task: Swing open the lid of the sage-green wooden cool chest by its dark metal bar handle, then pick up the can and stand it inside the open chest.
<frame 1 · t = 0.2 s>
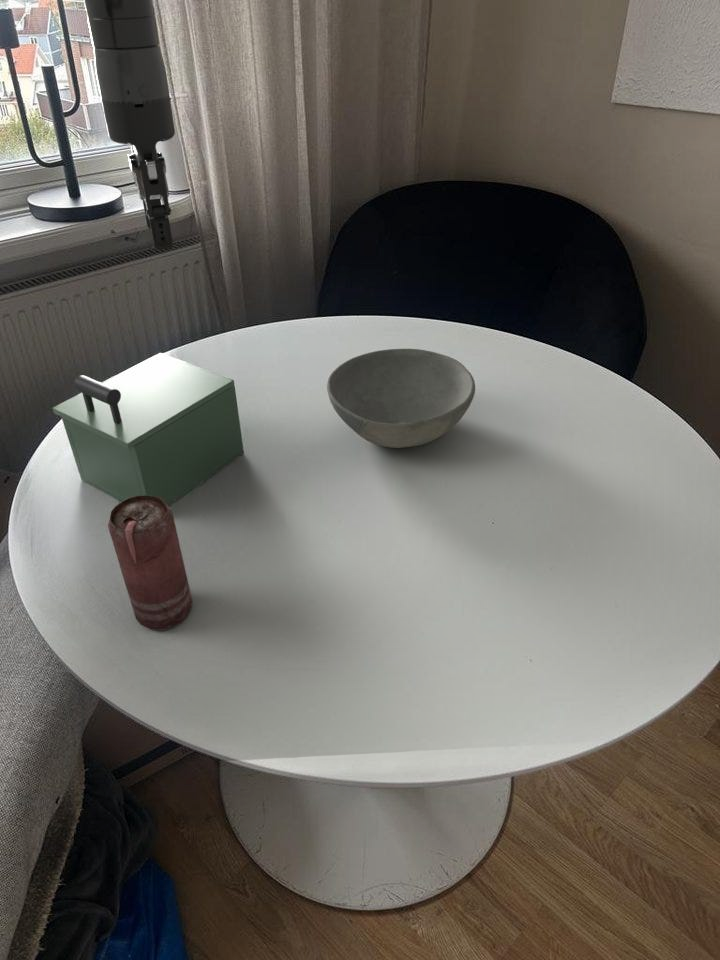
hand: (160, 237, 89), 28 cm above the table, tool pointing down, fingers open, 8 cm apart
can: (164, 613, 76), on the table
chest: (164, 466, 97), on the table
lid: (142, 380, 89), point 14 cm above the table, hinge at 0.0°
bowl: (399, 429, 104), on the table
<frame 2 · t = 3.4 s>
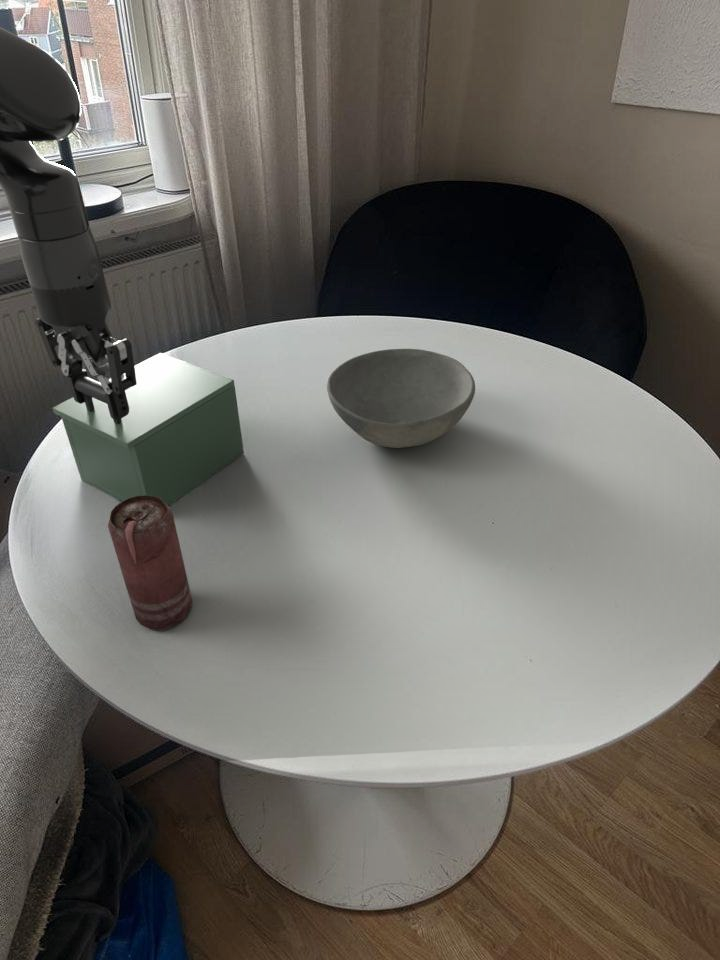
hand: (102, 407, 85), 13 cm above the table, tool pointing down, fingers closed on lid, 6 cm apart
lid: (142, 380, 89), point 14 cm above the table, hinge at 0.0°, touching gripper
everything else where it was.
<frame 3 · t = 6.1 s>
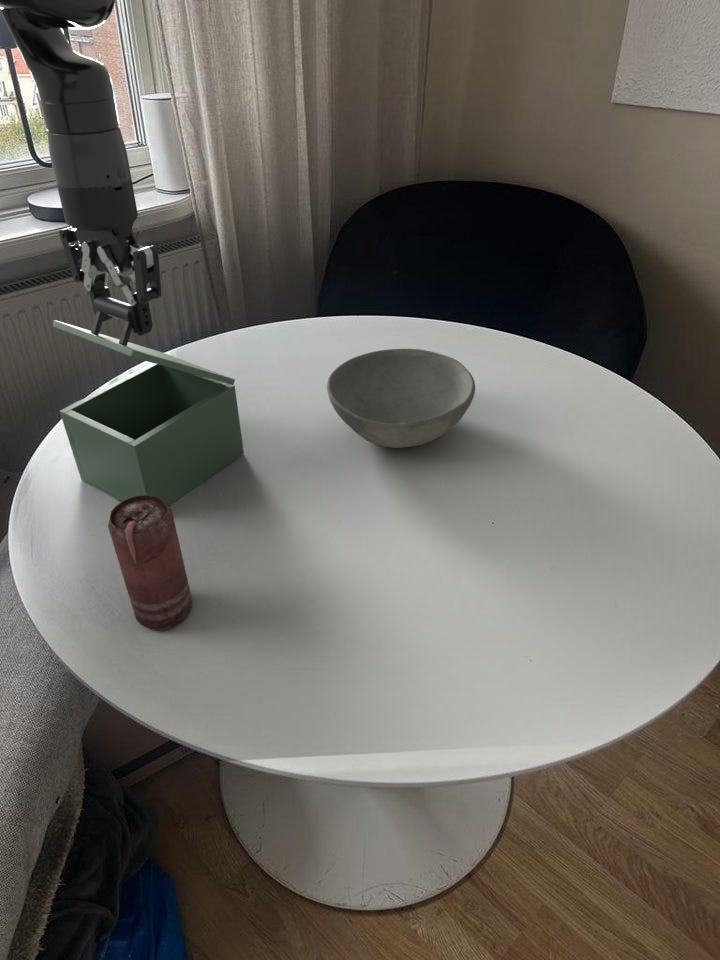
hand: (124, 325, 83), 22 cm above the table, tool pointing down, fingers closed on lid, 6 cm apart
lid: (153, 336, 88), point 19 cm above the table, hinge at 35.8°, touching gripper
everything else where it was.
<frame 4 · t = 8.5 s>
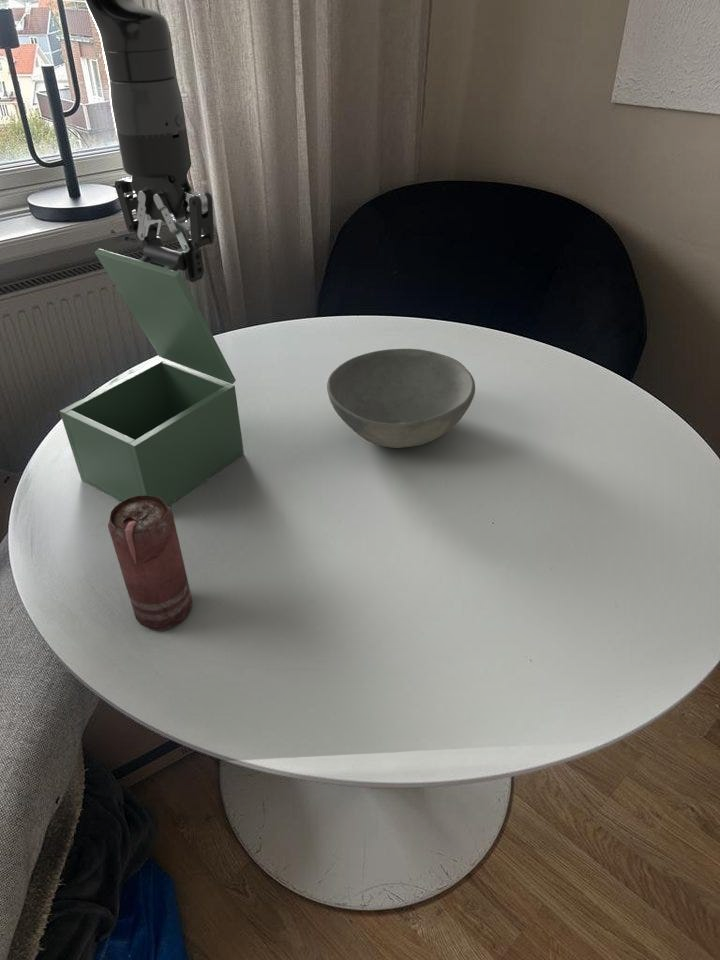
hand: (175, 273, 87), 25 cm above the table, tool pointing down, fingers closed on lid, 6 cm apart
lid: (180, 307, 90), point 21 cm above the table, hinge at 69.4°, touching gripper
everything else where it was.
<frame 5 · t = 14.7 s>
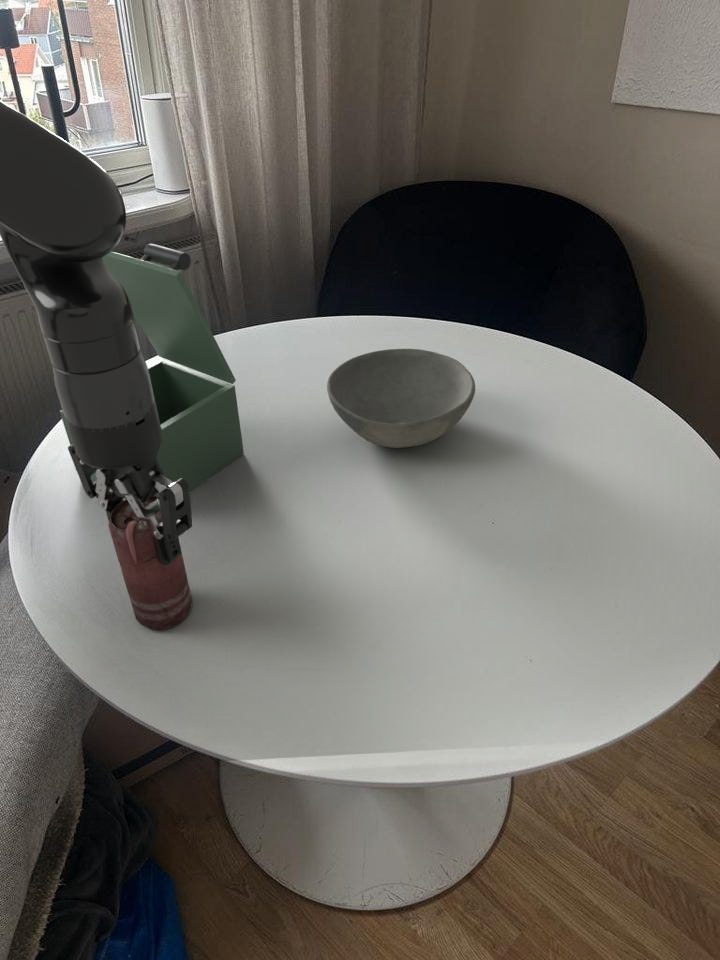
hand: (147, 545, 70), 10 cm above the table, tool pointing down, fingers closed on can, 6 cm apart
can: (164, 612, 76), on the table, touching gripper
lid: (180, 307, 90), point 21 cm above the table, hinge at 69.8°
everything else where it was.
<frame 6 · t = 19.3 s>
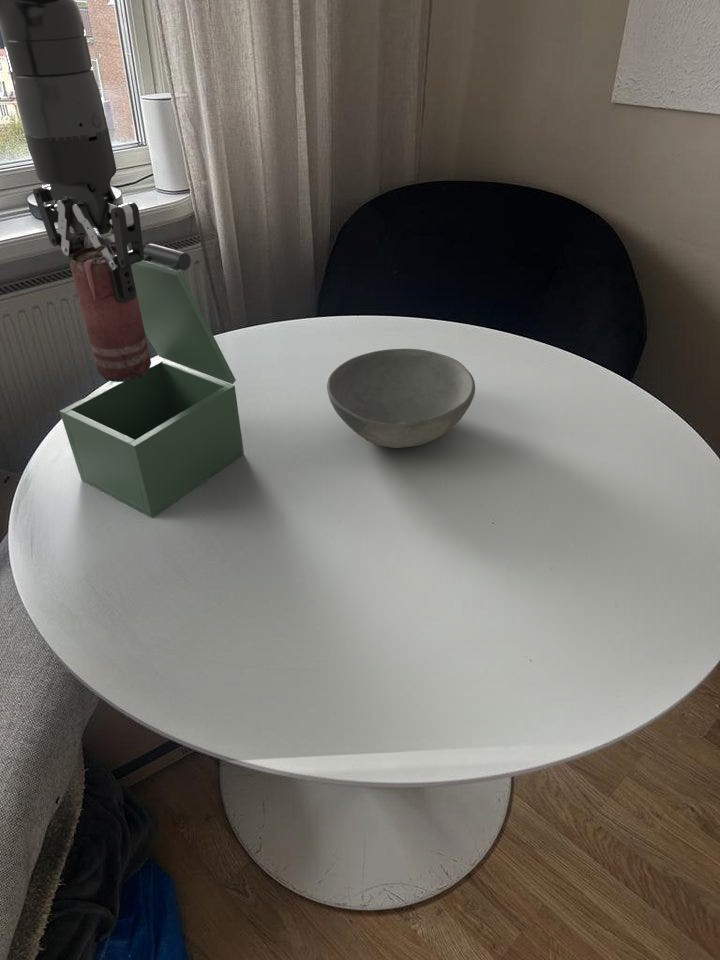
hand: (106, 293, 77), 27 cm above the table, tool pointing down, fingers closed on can, 6 cm apart
can: (125, 372, 83), point 17 cm above the table, touching gripper
everything else where it was.
when the fingers open (11 cm above the table, at t = 24.3 s): can stays where it is, resting on chest.
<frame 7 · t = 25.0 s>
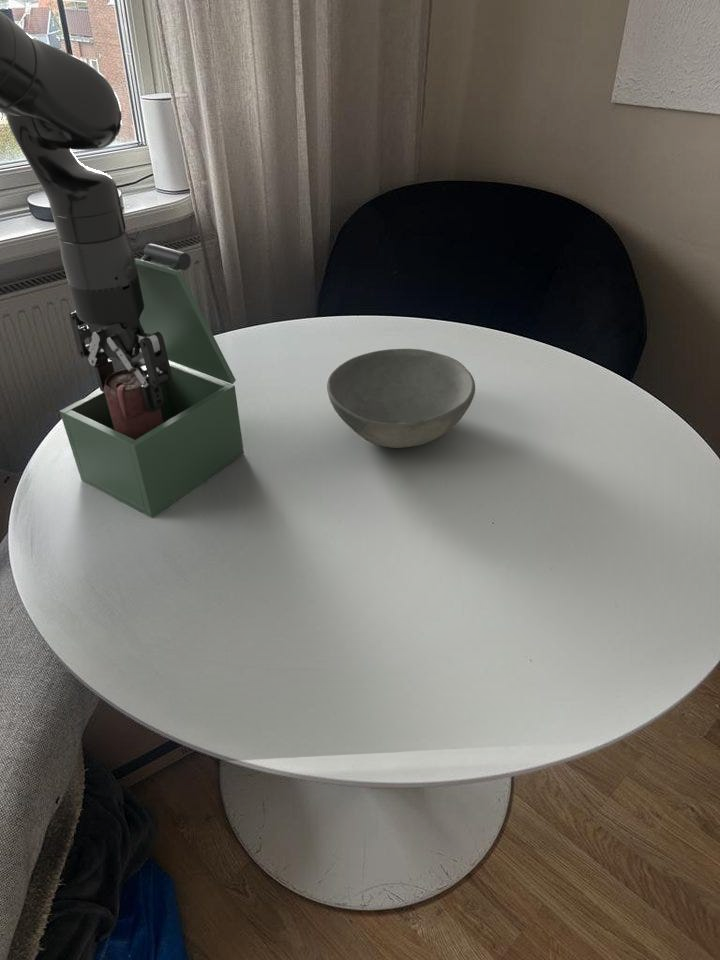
hand: (132, 399, 88), 12 cm above the table, tool pointing down, fingers open, 8 cm apart
can: (149, 471, 95), point 1 cm above the table, touching chest
everything else where it was.
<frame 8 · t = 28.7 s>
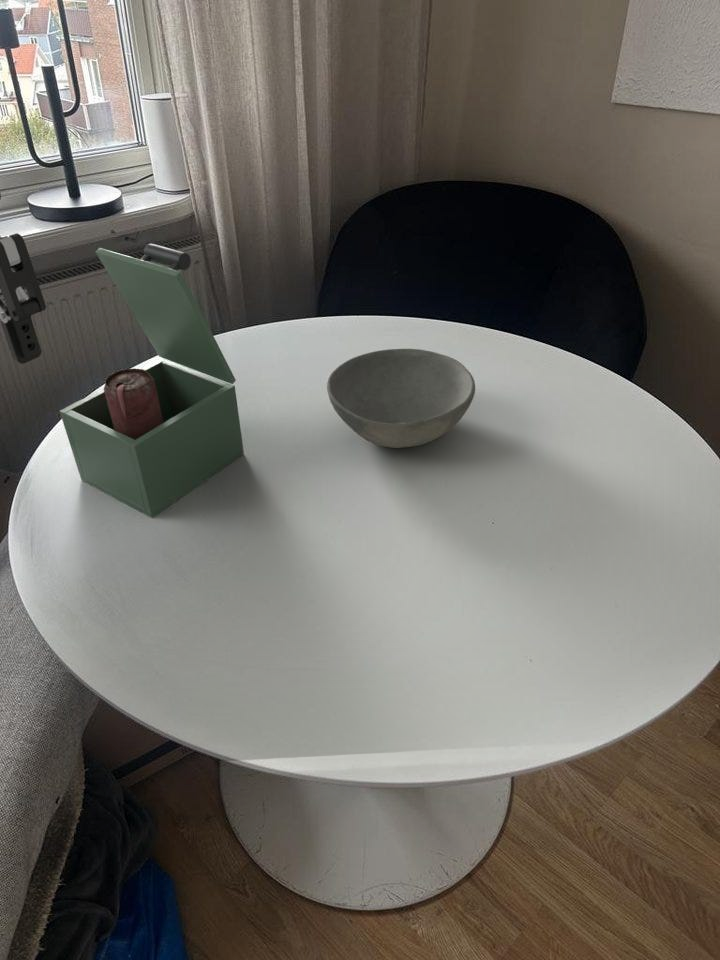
nothing on the table moved.
at the end: lid at +70° (first picture: +0°); can inside the target area in the chest (2.6 cm from its centre), point 0.8 cm above the chest's base; can tilted 0° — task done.
